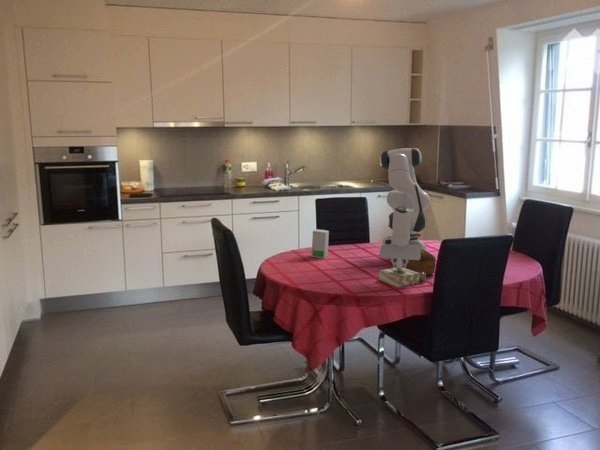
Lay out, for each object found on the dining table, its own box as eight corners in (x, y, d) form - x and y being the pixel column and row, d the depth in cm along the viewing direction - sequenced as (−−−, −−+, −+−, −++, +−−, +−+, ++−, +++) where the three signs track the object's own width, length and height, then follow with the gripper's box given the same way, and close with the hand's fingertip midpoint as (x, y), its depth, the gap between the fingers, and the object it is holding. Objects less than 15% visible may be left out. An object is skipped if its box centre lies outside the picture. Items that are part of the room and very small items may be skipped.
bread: (409, 262, 327) (410, 241, 325) (438, 275, 301) (440, 252, 299) (387, 264, 322) (388, 243, 319) (416, 278, 296) (417, 255, 294)
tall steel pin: (399, 277, 291) (400, 253, 289) (404, 278, 288) (405, 255, 286) (393, 278, 289) (394, 254, 287) (398, 279, 287) (399, 256, 284)
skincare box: (311, 257, 336) (311, 230, 333) (315, 254, 342) (315, 228, 339) (324, 258, 333) (325, 232, 330) (328, 256, 339) (329, 230, 336)
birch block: (399, 276, 299) (400, 266, 298) (418, 282, 287) (419, 273, 286) (378, 280, 291) (379, 270, 290) (397, 287, 280) (398, 277, 279)
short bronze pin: (421, 280, 292) (422, 271, 291) (427, 281, 289) (427, 273, 288) (416, 281, 290) (417, 272, 289) (421, 283, 287) (422, 274, 286)
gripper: (422, 240, 286) (420, 267, 289) (380, 237, 290) (379, 264, 293) (422, 243, 280) (420, 270, 283) (379, 240, 284) (378, 267, 287)
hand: (399, 267), depth 288 cm, fingers closed on tall steel pin, 4 cm apart
